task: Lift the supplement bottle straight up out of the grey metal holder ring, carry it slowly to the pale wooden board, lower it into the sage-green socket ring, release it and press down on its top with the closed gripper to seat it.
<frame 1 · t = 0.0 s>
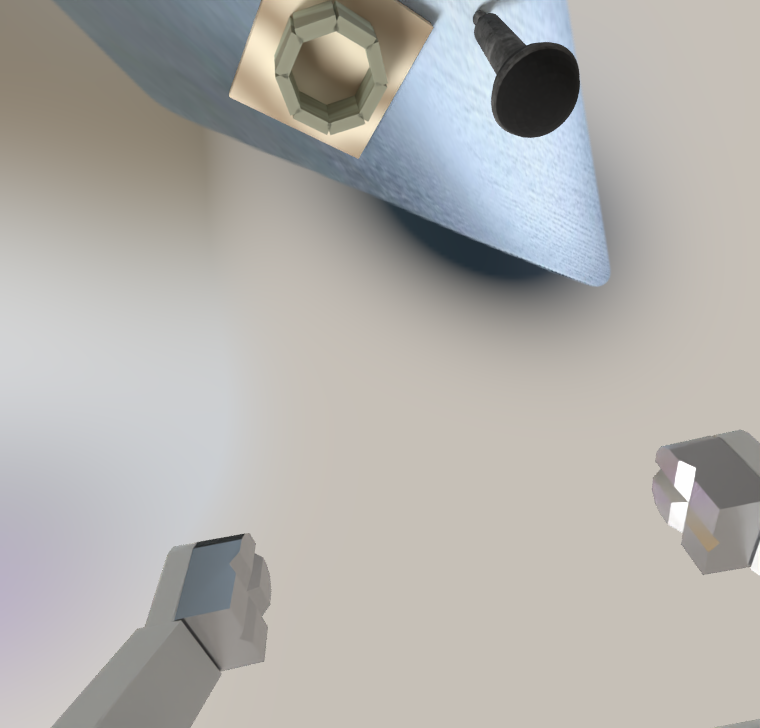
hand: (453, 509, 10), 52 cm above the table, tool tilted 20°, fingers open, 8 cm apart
socket board: (328, 57, 51), on the table
microphone: (477, 15, 50), on the table
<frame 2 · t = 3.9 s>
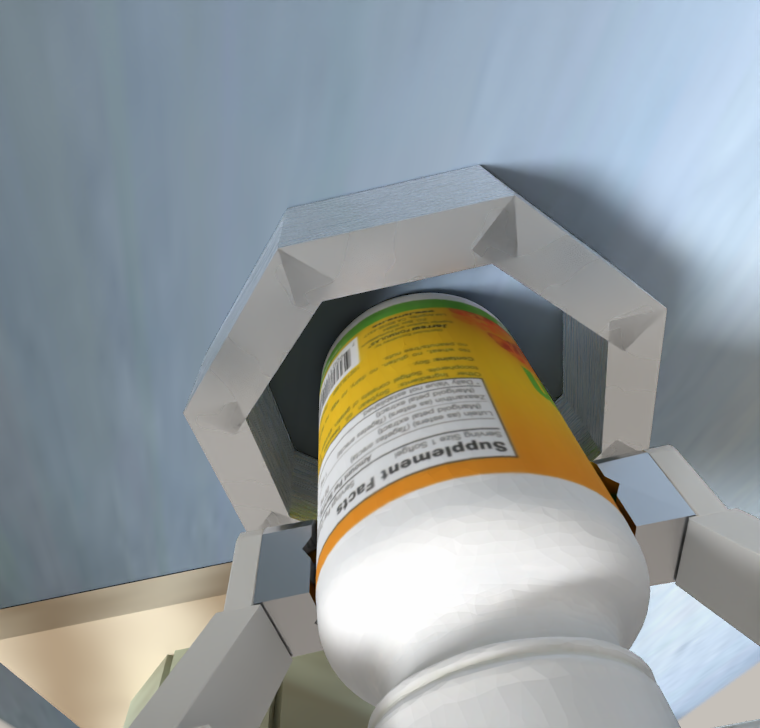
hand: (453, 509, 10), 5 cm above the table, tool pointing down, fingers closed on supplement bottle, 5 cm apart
holder ring: (418, 376, 14), on the table
socket board: (272, 672, 22), on the table
supplement bottle: (417, 372, 14), resting in holder ring, touching gripper
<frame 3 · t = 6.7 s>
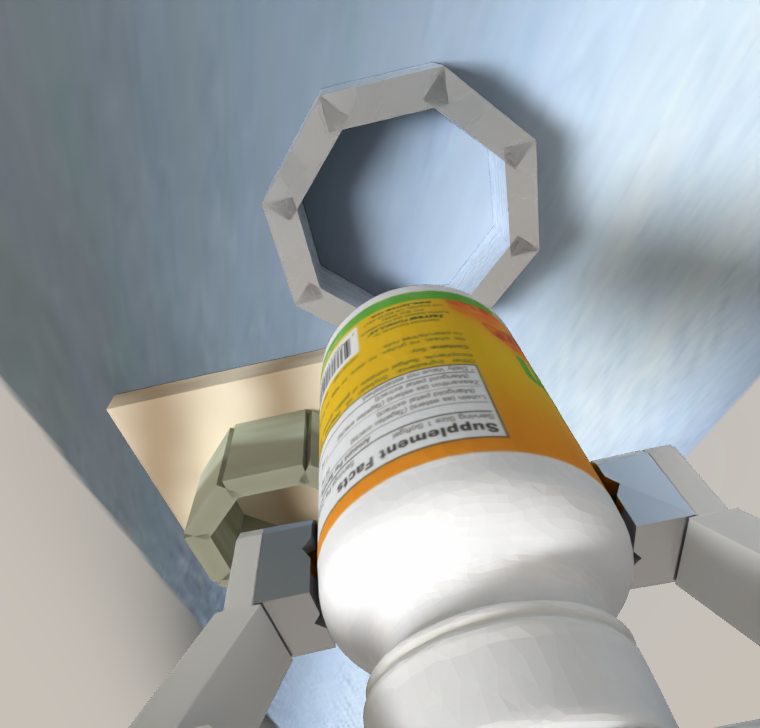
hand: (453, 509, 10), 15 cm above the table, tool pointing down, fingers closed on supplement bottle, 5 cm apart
holder ring: (399, 209, 22), on the table
socket board: (299, 467, 30), on the table
supplement bottle: (415, 362, 15), point 10 cm above the table, touching gripper
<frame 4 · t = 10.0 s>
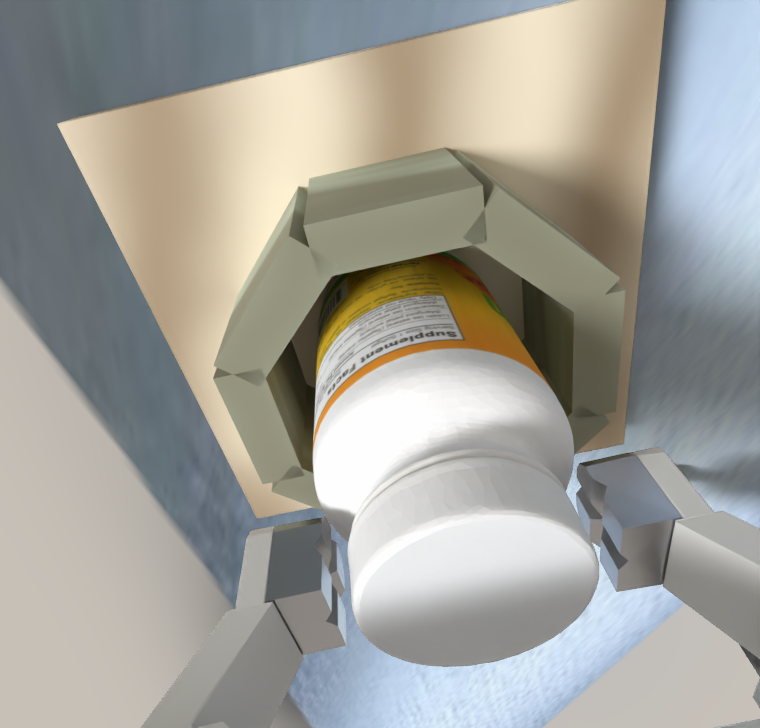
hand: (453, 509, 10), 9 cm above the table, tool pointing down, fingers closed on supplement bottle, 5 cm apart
socket board: (402, 305, 17), on the table
supplement bottle: (403, 317, 16), point 1 cm above the table, touching gripper, socket board
when the fingers open (7 cm above the table, at t = 11.0 s): supplement bottle stays where it is, resting on socket board.
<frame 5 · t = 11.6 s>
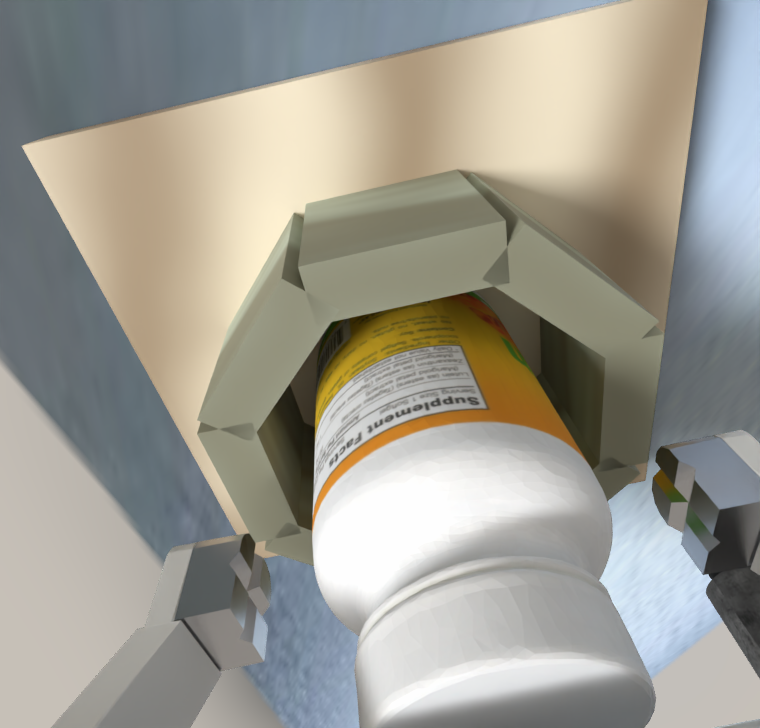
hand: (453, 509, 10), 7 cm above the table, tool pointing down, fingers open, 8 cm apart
socket board: (408, 336, 16), on the table
microphone: (683, 505, 22), on the table
supplement bottle: (409, 350, 15), point 1 cm above the table, touching socket board
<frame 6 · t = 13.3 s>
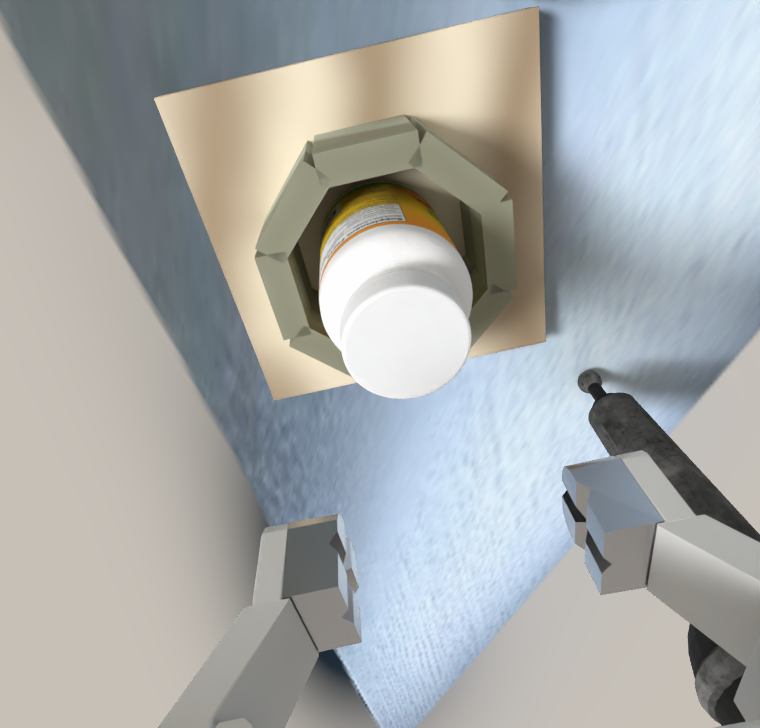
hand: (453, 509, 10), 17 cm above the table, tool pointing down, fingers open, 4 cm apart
socket board: (379, 231, 24), on the table
microphone: (583, 373, 30), on the table
supplement bottle: (379, 237, 24), point 1 cm above the table, touching socket board
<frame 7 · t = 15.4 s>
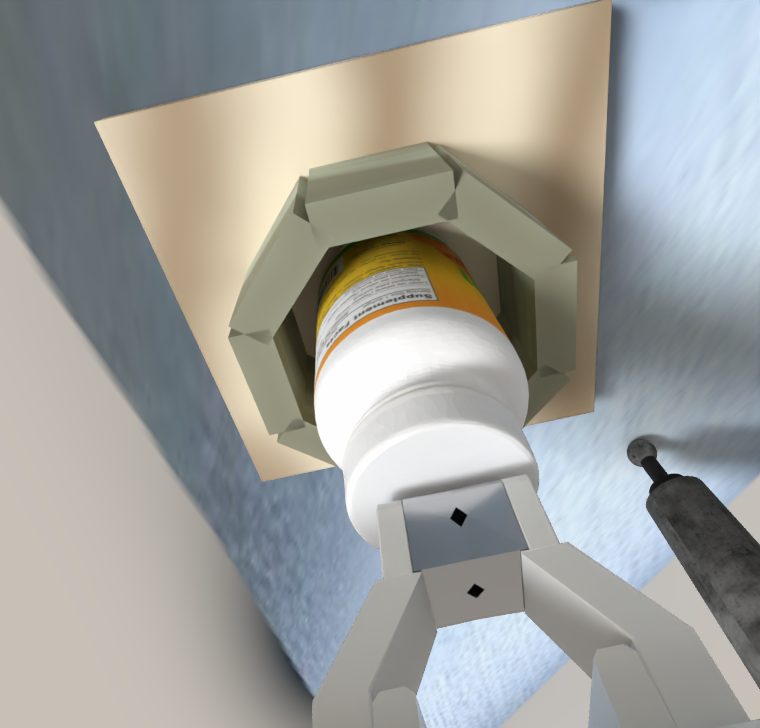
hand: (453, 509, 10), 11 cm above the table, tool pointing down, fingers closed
socket board: (392, 283, 19), on the table
microphone: (632, 441, 25), on the table
supplement bottle: (392, 292, 19), point 1 cm above the table, touching socket board
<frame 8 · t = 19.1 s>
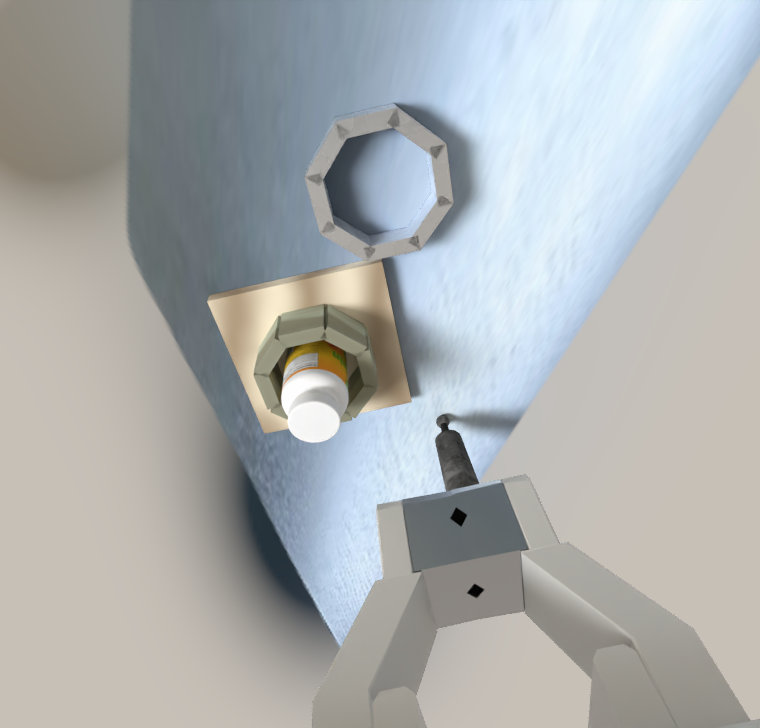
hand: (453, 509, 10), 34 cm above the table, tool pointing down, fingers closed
holder ring: (378, 182, 40), on the table
socket board: (318, 349, 47), on the table
microphone: (441, 416, 53), on the table
supplement bottle: (316, 354, 46), point 1 cm above the table, touching socket board
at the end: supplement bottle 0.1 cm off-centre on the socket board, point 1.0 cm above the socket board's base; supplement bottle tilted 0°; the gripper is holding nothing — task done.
